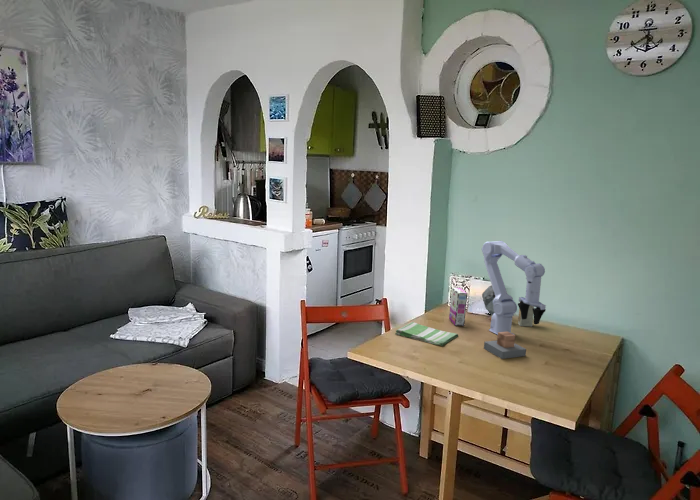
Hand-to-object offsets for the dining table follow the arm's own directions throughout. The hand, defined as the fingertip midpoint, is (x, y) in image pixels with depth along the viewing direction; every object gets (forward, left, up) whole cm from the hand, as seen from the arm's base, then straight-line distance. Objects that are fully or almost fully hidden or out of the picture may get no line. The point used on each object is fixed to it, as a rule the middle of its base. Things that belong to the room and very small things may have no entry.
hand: (530, 321), depth 223 cm
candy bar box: (-35, -14, -11) cm, 39 cm away
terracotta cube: (+5, -17, -7) cm, 19 cm away
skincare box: (-23, +18, -11) cm, 31 cm away
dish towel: (-22, -39, -11) cm, 46 cm away
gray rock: (-36, +9, -11) cm, 38 cm away
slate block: (+5, -17, -10) cm, 21 cm away
